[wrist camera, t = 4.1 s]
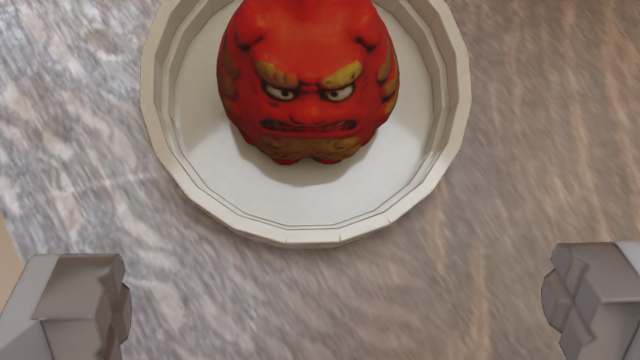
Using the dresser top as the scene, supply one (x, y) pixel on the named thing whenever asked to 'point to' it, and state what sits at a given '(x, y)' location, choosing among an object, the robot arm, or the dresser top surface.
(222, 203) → the bowl
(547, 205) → the dresser top surface
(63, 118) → the dresser top surface
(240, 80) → the red daruma ornament
